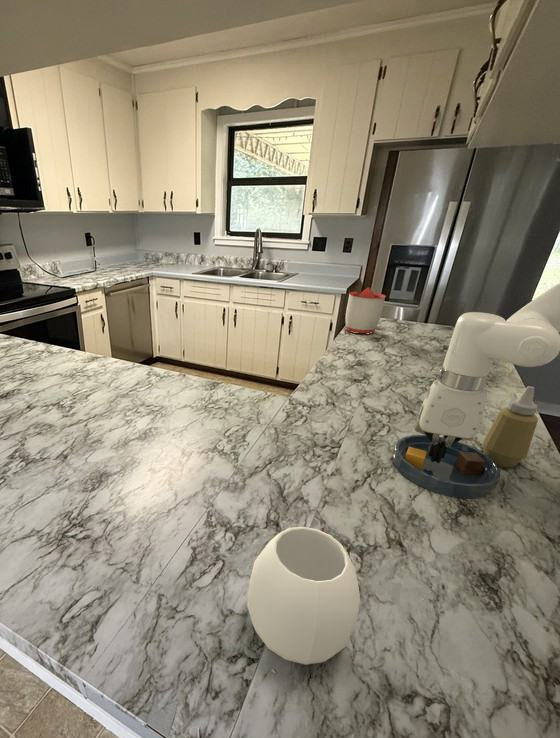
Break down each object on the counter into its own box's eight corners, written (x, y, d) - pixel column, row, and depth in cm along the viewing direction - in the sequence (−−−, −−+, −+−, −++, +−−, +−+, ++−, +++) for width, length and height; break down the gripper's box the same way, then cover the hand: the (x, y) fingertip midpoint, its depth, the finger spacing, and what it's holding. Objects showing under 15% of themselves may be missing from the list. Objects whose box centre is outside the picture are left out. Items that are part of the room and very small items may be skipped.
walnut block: (470, 466, 86) (475, 452, 84) (479, 475, 82) (485, 461, 81) (453, 465, 86) (459, 451, 84) (462, 474, 83) (467, 460, 81)
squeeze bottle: (516, 456, 90) (549, 383, 82) (524, 475, 84) (562, 398, 75) (474, 448, 93) (503, 377, 85) (480, 465, 87) (511, 390, 78)
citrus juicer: (370, 327, 193) (380, 284, 184) (381, 337, 178) (392, 291, 169) (338, 325, 194) (345, 283, 185) (346, 335, 179) (355, 289, 170)
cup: (333, 587, 57) (351, 516, 51) (362, 683, 46) (390, 606, 40) (242, 582, 58) (249, 511, 52) (247, 676, 46) (257, 598, 40)
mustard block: (422, 464, 86) (427, 451, 84) (420, 472, 83) (424, 458, 81) (404, 459, 87) (409, 446, 86) (402, 467, 85) (406, 453, 83)
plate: (479, 456, 90) (484, 443, 88) (507, 510, 74) (515, 495, 72) (388, 441, 95) (392, 428, 94) (396, 487, 79) (400, 473, 77)
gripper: (421, 380, 75) (397, 461, 83) (513, 392, 71) (478, 476, 79) (416, 367, 81) (394, 443, 90) (500, 377, 77) (469, 457, 85)
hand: (433, 458), depth 84 cm, fingers closed
